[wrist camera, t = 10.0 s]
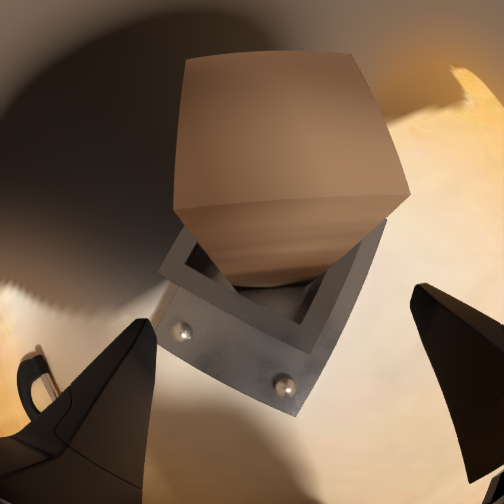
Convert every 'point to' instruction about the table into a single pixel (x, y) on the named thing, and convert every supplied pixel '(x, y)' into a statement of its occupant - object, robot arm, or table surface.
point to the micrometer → (27, 376)
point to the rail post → (281, 164)
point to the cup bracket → (259, 322)
